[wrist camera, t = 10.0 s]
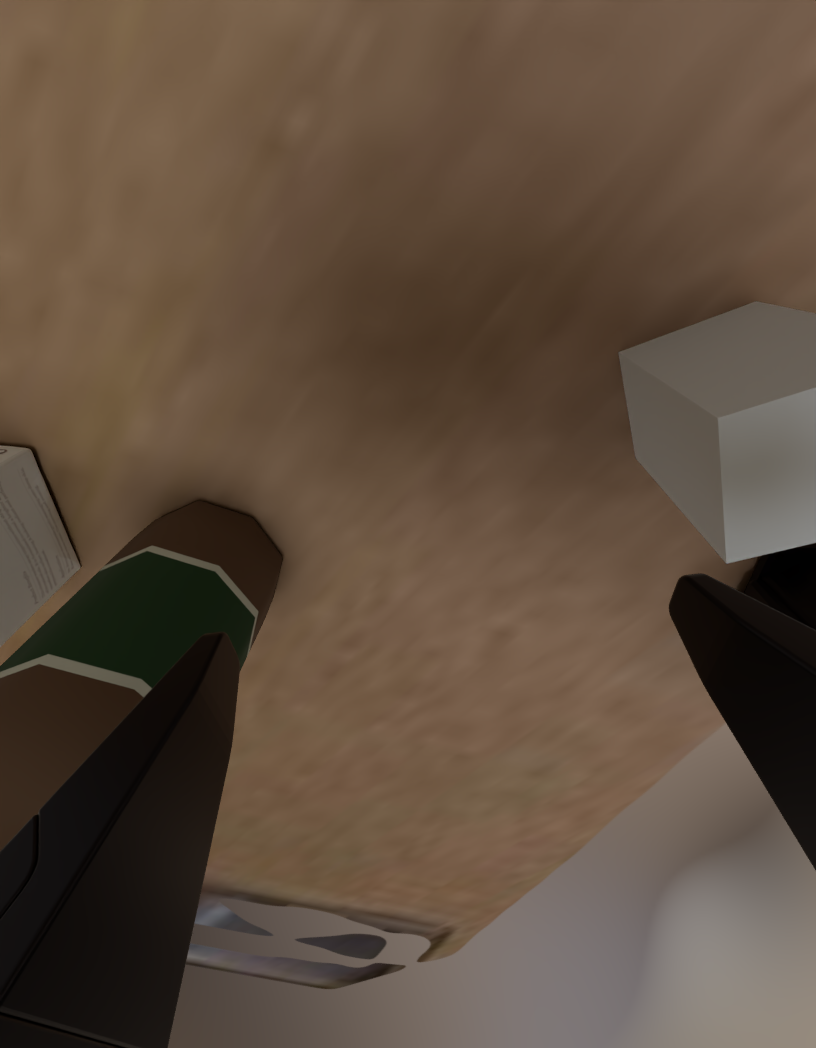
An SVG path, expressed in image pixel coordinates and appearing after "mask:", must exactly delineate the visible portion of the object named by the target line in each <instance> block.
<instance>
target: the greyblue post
mask: <svg viewBox="0 0 816 1048" xmlns="http://www.w3.org/2000/svg"><path fill="white" fill-rule="evenodd" d="M618 354H619V360H620V366H621V373H622V379H623V385H624V391H625V397H626V403H627V409H628V416H629V422H630V428H631V434H632V440H633V446H634V453H635V458H636V459H637V460H638V462H639V463H640V464H641V465H642V466H643V467H644V469H645V470H646V471H647V472H648V473H649V474H650V476H651V477H652V478H653V479H654V480H655V481H656V483H657V484H658V485H659V486H660V487H661V488H662V490H663V491H664V492H665V493H666V494H667V495H668V496H669V498H670V499H671V500H672V501H673V502H674V503H675V505H676V506H677V507H678V508H679V509H680V510H681V512H682V513H683V514H684V515H685V516H686V517H687V519H688V520H689V521H690V522H691V523H692V524H693V526H694V527H695V528H696V529H697V530H698V531H699V533H700V534H701V535H702V536H703V537H704V538H705V540H706V541H707V542H708V543H709V544H710V545H711V546H712V548H713V549H714V550H715V551H716V552H717V553H718V555H719V556H720V557H721V558H722V559H723V560H724V562H725V563H726V564H728V563H732V562H736V561H741V560H745V559H749V558H753V557H758V556H762V555H766V554H770V553H774V552H779V551H783V550H787V549H791V548H796V547H800V546H804V545H808V544H812V543H816V313H812V312H807V311H802V310H797V309H792V308H787V307H782V306H777V305H772V304H768V303H763V302H758V301H755V302H752V303H750V304H747V305H744V306H742V307H739V308H736V309H734V310H731V311H728V312H725V313H723V314H720V315H717V316H715V317H712V318H709V319H707V320H704V321H701V322H698V323H696V324H693V325H690V326H688V327H685V328H682V329H680V330H677V331H674V332H671V333H669V334H666V335H663V336H661V337H658V338H655V339H652V340H650V341H647V342H644V343H642V344H639V345H636V346H634V347H631V348H628V349H625V350H623V351H620V352H618Z"/></svg>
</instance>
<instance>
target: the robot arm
mask: <svg viewBox="0 0 816 1048" xmlns="http://www.w3.org/2000/svg"><path fill="white" fill-rule="evenodd" d="M776 553H778V552H774V553H770V554H766V555H762V556H761V558H760V560H759V563H758V565H757V567H756V569H755V571H754V573H753V575H752V577H751V580H750V582H749V584H748V586H747V588H746V590H745V592H744V594H743V593H741V592H739V591H737V590H735V589H733V588H731V587H729V586H728V585H726V584H724V583H722V582H720V581H718V580H716V579H714V578H712V577H710V576H708V575H705V574H692V575H684V576H682V577H681V578H679V580H678V582H677V584H676V587H675V590H674V592H673V595H672V598H671V600H670V603H669V612H670V616H671V618H672V620H673V622H674V624H675V627H676V629H677V631H678V633H679V635H680V637H681V639H682V641H683V643H684V646H685V648H686V650H687V652H688V654H689V656H690V658H691V660H692V662H693V665H694V667H695V669H696V671H697V673H698V675H699V677H700V679H701V681H702V683H703V685H704V686H705V688H706V690H707V692H708V693H709V695H710V697H711V699H712V700H713V702H714V703H715V705H716V707H717V708H718V710H719V712H720V713H721V715H722V717H723V718H724V720H725V722H726V723H727V725H728V727H729V728H730V730H731V732H732V733H733V735H734V736H735V738H736V740H737V741H738V743H739V745H740V746H741V748H742V750H743V751H744V753H745V755H746V756H747V758H748V759H749V761H750V763H751V764H752V766H753V768H754V769H755V771H756V773H757V774H758V776H759V778H760V779H761V781H762V782H763V784H764V786H765V788H766V789H767V791H768V793H769V794H770V796H771V798H772V799H773V801H774V802H775V804H776V806H777V807H778V809H779V810H780V812H781V814H782V816H783V817H784V819H785V820H786V822H787V824H788V826H789V827H790V829H791V831H792V832H793V834H794V835H795V837H796V839H797V840H798V842H799V844H800V845H801V847H802V849H803V850H804V852H805V854H806V855H807V857H808V859H809V860H810V862H811V864H812V865H813V867H814V868H815V870H816V543H812V544H808V545H804V546H800V547H796V548H791V549H787V550H783V551H779V553H778V554H776ZM775 554H776V555H775ZM239 672H240V663H239V658H238V656H237V654H236V651H235V649H234V647H233V645H232V643H231V641H230V639H229V636H228V635H227V634H226V633H225V632H215V633H207V634H204V635H202V636H201V637H200V638H199V639H198V640H197V641H196V642H195V643H194V644H193V645H192V646H191V647H190V648H189V649H188V650H187V651H186V652H185V654H184V655H183V656H182V657H181V658H180V659H179V660H178V661H177V662H176V663H175V664H174V665H173V666H172V668H171V669H170V670H169V671H168V672H167V673H166V674H165V675H164V676H163V677H162V678H161V679H160V680H159V682H158V683H157V684H156V685H155V686H154V687H153V688H152V689H151V690H150V691H149V692H148V693H147V694H146V695H145V697H144V698H143V699H142V700H141V701H140V702H139V703H138V704H137V705H136V706H135V707H134V708H133V709H132V711H131V712H130V713H129V714H128V715H127V716H126V717H125V718H124V719H123V720H122V721H121V722H120V723H119V724H118V726H117V727H116V728H115V729H114V730H113V731H112V732H111V733H110V734H109V735H108V736H107V737H106V738H105V740H104V741H103V742H102V743H101V744H100V745H99V746H98V747H97V748H96V749H95V750H94V751H93V752H92V754H91V755H90V756H89V757H88V758H87V759H86V760H85V761H84V762H83V763H82V764H81V765H80V766H79V767H78V769H77V770H76V771H75V772H74V773H73V774H72V775H71V776H70V777H69V778H68V779H67V780H66V781H65V783H64V784H63V785H62V786H61V787H60V788H59V789H58V790H57V791H56V792H55V793H54V794H53V795H52V796H51V798H50V799H49V800H48V801H47V802H46V803H45V804H44V805H43V806H42V807H41V808H40V810H39V812H38V814H37V815H34V816H33V817H32V818H31V819H30V820H29V821H28V822H27V823H26V824H25V825H24V826H23V827H22V828H21V830H20V831H19V832H18V833H17V834H16V835H15V836H14V837H13V838H12V839H11V840H10V841H9V842H8V843H7V844H6V846H5V847H4V848H3V849H2V850H1V851H0V1048H168V1044H169V1039H170V1033H171V1030H172V1025H173V1020H174V1015H175V1011H176V1006H177V1001H178V997H179V992H180V987H181V983H182V978H183V973H184V968H185V964H186V959H187V955H188V950H189V945H190V941H191V936H192V931H193V927H194V922H195V917H196V913H197V908H198V903H199V899H200V894H201V889H202V885H203V880H204V875H205V871H206V866H207V861H208V857H209V852H210V847H211V843H212V838H213V833H214V829H215V824H216V819H217V815H218V810H219V805H220V801H221V796H222V791H223V786H224V782H225V777H226V772H227V768H228V763H229V758H230V753H231V748H232V740H233V732H234V722H235V712H236V702H237V692H238V682H239Z"/></svg>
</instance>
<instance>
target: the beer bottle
mask: <svg viewBox="0 0 816 1048" xmlns="http://www.w3.org/2000/svg"><path fill="white" fill-rule="evenodd" d="M282 560H283V559H282V556H281V554H280V553H279V552H278V550H277V549H276V548H275V546H274V545H273V544H272V542H271V541H270V540H269V538H268V537H267V536H266V534H265V533H264V532H263V531H262V529H261V528H260V527H259V525H258V524H257V523H256V521H255V520H254V519H253V517H250V516H247V515H244V514H241V513H238V512H234V511H231V510H228V509H225V508H222V507H219V506H216V505H213V504H210V503H206V502H203V501H196V502H194V503H192V504H190V505H187V506H185V507H183V508H181V509H179V510H176V511H174V512H172V513H170V514H167V515H165V516H163V517H161V518H159V519H156V520H155V521H154V522H152V523H151V524H150V525H149V526H147V527H146V528H145V529H144V530H143V531H141V532H140V533H139V534H138V535H137V536H135V537H134V538H133V539H132V540H131V541H130V542H129V543H128V544H127V545H126V546H125V547H124V548H123V549H122V550H121V551H120V552H119V553H118V554H116V555H115V556H114V557H113V558H112V559H111V560H110V561H109V562H108V563H107V564H106V565H105V566H104V567H103V568H102V569H101V570H100V571H99V572H98V573H97V574H96V575H95V576H94V577H93V578H92V579H91V580H89V581H88V582H87V583H86V584H85V585H84V586H83V587H82V588H81V589H80V590H79V591H78V592H77V593H76V594H75V595H74V596H73V597H72V598H71V599H70V600H69V601H68V602H67V603H66V604H65V605H63V606H62V607H61V608H60V609H59V610H58V611H57V612H56V613H55V614H54V615H53V616H52V617H51V618H50V619H49V620H48V621H47V622H46V623H45V624H44V625H43V626H42V627H41V628H40V629H39V630H37V631H36V632H35V633H34V634H33V635H32V636H31V637H30V638H29V639H28V640H27V641H26V642H25V643H24V644H23V645H22V646H21V647H20V648H19V649H18V650H17V651H16V652H15V653H14V654H13V655H12V656H10V657H9V658H8V659H7V660H6V661H5V662H4V663H3V664H2V665H1V666H0V851H1V850H2V849H3V848H4V847H5V846H6V844H7V843H8V842H9V841H10V840H11V839H12V838H13V837H14V836H15V835H16V834H17V833H18V832H19V831H20V830H21V828H22V827H23V826H24V825H25V824H26V823H27V822H28V821H29V820H30V819H31V818H32V817H33V816H34V815H37V814H38V812H39V810H40V808H41V807H42V806H43V805H44V804H45V803H46V802H47V801H48V800H49V799H50V798H51V796H52V795H53V794H54V793H55V792H56V791H57V790H58V789H59V788H60V787H61V786H62V785H63V784H64V783H65V781H66V780H67V779H68V778H69V777H70V776H71V775H72V774H73V773H74V772H75V771H76V770H77V769H78V767H79V766H80V765H81V764H82V763H83V762H84V761H85V760H86V759H87V758H88V757H89V756H90V755H91V754H92V752H93V751H94V750H95V749H96V748H97V747H98V746H99V745H100V744H101V743H102V742H103V741H104V740H105V738H106V737H107V736H108V735H109V734H110V733H111V732H112V731H113V730H114V729H115V728H116V727H117V726H118V724H119V723H120V722H121V721H122V720H123V719H124V718H125V717H126V716H127V715H128V714H129V713H130V712H131V711H132V709H133V708H134V707H135V706H136V705H137V704H138V703H139V702H140V701H141V700H142V699H143V698H144V697H145V695H146V694H147V693H148V692H149V691H150V690H151V689H152V688H153V687H154V686H155V685H156V684H157V683H158V682H159V680H160V679H161V678H162V677H163V676H164V675H165V674H166V673H167V672H168V671H169V670H170V669H171V668H172V666H173V665H174V664H175V663H176V662H177V661H178V660H179V659H180V658H181V657H182V656H183V655H184V654H185V652H186V651H187V650H188V649H189V648H190V647H191V646H192V645H193V644H194V643H195V642H196V641H197V640H198V639H199V638H200V637H201V636H202V635H204V634H207V633H215V632H225V633H226V634H227V635H228V636H229V639H230V641H231V643H232V645H233V647H234V649H235V651H236V654H237V656H238V658H239V663H240V670H241V668H242V666H243V664H244V662H245V660H246V657H247V655H248V653H249V651H250V649H251V647H252V645H253V643H254V641H255V639H256V636H257V634H258V632H259V630H260V628H261V626H262V624H263V622H264V620H265V617H266V615H267V612H268V610H269V607H270V604H271V602H272V599H273V597H274V593H275V589H276V585H277V581H278V577H279V573H280V568H281V564H282Z"/></svg>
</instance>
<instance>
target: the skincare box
mask: <svg viewBox="0 0 816 1048" xmlns="http://www.w3.org/2000/svg"><path fill="white" fill-rule="evenodd" d="M80 568H81V566H80V564H79V561H78V559H77V557H76V554H75V552H74V550H73V548H72V546H71V543H70V541H69V538H68V536H67V534H66V531H65V529H64V527H63V524H62V522H61V519H60V517H59V515H58V512H57V510H56V508H55V505H54V503H53V501H52V498H51V496H50V494H49V491H48V489H47V486H46V484H45V482H44V479H43V477H42V475H41V473H40V470H39V468H38V466H37V463H36V461H35V458H34V455H33V453H32V451H31V450H30V449H28V448H22V447H13V446H1V445H0V647H1V646H2V645H3V644H4V643H5V642H6V641H7V640H8V639H9V638H10V637H11V636H12V635H13V634H14V633H15V632H16V631H17V630H18V629H19V628H20V627H21V626H22V625H23V624H24V623H25V622H26V621H27V620H28V619H29V618H30V617H31V616H32V615H33V614H34V613H35V612H36V611H37V610H38V609H39V608H40V607H41V606H42V605H43V604H44V603H45V602H46V601H47V600H48V599H49V598H50V597H51V596H52V595H53V594H54V593H55V592H56V591H57V590H58V589H59V588H60V587H61V586H62V585H63V584H65V583H66V582H67V581H68V580H69V579H70V578H71V577H72V576H73V575H74V574H75V573H76V572H77V571H78V570H79V569H80Z"/></svg>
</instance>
